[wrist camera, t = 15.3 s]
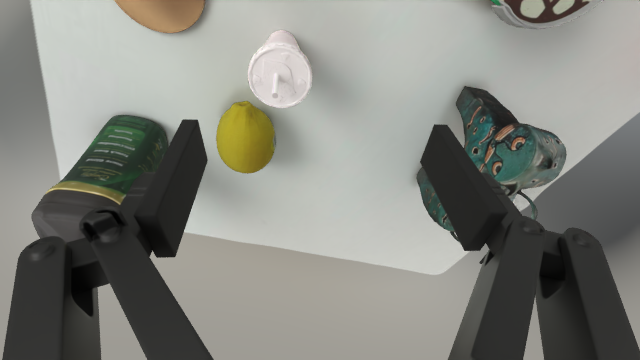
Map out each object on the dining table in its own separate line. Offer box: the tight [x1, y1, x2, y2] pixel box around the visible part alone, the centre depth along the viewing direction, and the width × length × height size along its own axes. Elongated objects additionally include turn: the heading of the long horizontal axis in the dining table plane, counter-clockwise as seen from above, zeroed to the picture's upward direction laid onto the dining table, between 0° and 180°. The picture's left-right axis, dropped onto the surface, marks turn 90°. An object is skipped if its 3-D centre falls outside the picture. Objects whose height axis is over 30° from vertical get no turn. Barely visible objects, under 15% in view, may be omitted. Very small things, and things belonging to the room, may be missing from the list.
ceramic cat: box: [417, 86, 566, 242], centre depth 40 cm, size 20×6×20 cm, turn 168°
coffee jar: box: [32, 115, 168, 242], centre depth 37 cm, size 10×8×19 cm
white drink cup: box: [248, 30, 312, 108], centre depth 31 cm, size 6×6×14 cm
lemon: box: [216, 101, 276, 173], centre depth 40 cm, size 11×8×8 cm
